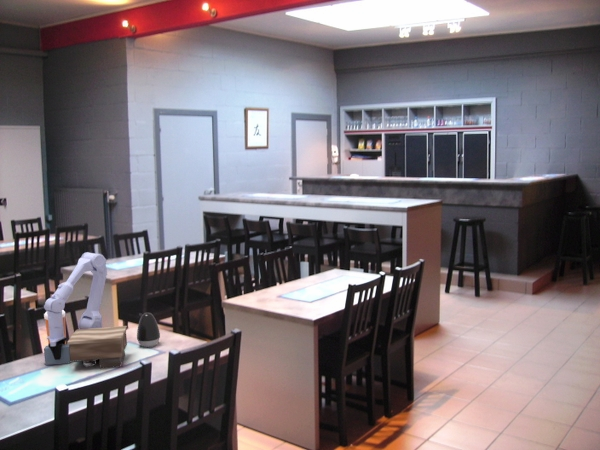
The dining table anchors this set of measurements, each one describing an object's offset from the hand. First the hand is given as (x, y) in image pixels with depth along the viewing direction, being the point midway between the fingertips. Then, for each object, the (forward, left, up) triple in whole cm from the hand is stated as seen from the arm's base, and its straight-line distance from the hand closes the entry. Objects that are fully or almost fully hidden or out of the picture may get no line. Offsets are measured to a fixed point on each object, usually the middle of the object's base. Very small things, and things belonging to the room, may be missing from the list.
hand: (58, 357), depth 263 cm
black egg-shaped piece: (-15, +35, -3) cm, 39 cm away
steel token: (+4, +13, -3) cm, 14 cm away
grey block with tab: (0, +5, -2) cm, 6 cm away
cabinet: (+4, +17, -2) cm, 18 cm away
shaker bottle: (-17, -5, -3) cm, 18 cm away
